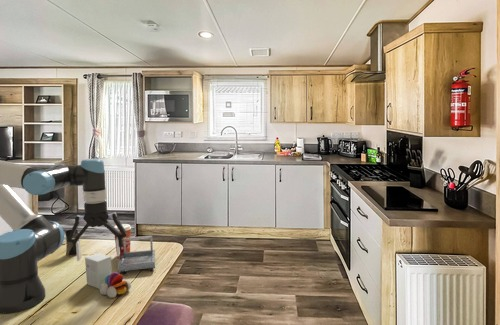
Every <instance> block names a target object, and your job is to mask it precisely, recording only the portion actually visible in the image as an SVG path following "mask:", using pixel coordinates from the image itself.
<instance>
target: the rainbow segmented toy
mask: <svg viewBox="0 0 500 325" xmlns="http://www.w3.org/2000/svg"><path fill="white" fill-rule="evenodd" d="M123 275H124V274H120V273H118V272H116V271H115V272H112V273H111V274H110V275H107V276H106V278H105V283H103V284H102V285H101V286H100V289H99V292H100V294H101V295H104V296H107V297H109V298H110V299H111V298H112V299H114V298H116V297H117V295H123V294H125V293H126V292H129V291H130V289H131V288H132V284H131V281H130V280H126V279H125V280H123V279H124V276H123Z"/></svg>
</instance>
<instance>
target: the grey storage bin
mask: <svg viewBox="0 0 500 325" xmlns="http://www.w3.org/2000/svg"><path fill="white" fill-rule="evenodd" d="M149 239H150V240H149ZM128 240H130V241H139V240H149V241H150V249H149V250H137V251H136V250H134V251H130V252H126V241H128ZM123 243H124V253H121V257H120V258H119V261H118V264H117V271H118V272H119V275H120V274H121V275H125V274H126V271H135V270H145V269H146V270H147V269H148V271H149V272H152V271H154V269H155V268H156V250H155V249H154V248H153V247H154V246H153V235H145V236H144V235H143V236H134V237H130V238H123Z"/></svg>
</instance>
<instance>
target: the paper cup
mask: <svg viewBox="0 0 500 325" xmlns="http://www.w3.org/2000/svg"><path fill="white" fill-rule="evenodd" d="M121 224H122V226H123V227H124V229H125V231H126V232H127V235H126V237H123V238H130V237H131V231H132V230H131V229H132V226H131V225H130V223H129V224H128V223H121ZM113 227H114V228H115V229H116V230H117V231H119V232H120V230H119V229H118V227H117V226H116V225H115V226H113ZM120 233H121V232H120ZM121 234H122V233H121ZM123 238H122V247H120V255H119V256H118V257H117V258H118V259H120V257H121V253H124V243H123ZM116 239H117V237H116V236H115V235H114V242H115V244H116ZM115 250H116V251H115V252H116V253H117V247H116V246H115ZM126 252H131V240H128V241H126Z"/></svg>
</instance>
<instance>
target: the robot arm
mask: <svg viewBox="0 0 500 325" xmlns="http://www.w3.org/2000/svg"><path fill="white" fill-rule="evenodd" d="M105 174H106V170H105V164H104V161H103V159H101V158H92V159H91V158H87V159H83V160H81V161H80V164H77V165H76V164H75V165H74V164H73V165H71V164H70V165H68V164H67V165H65V164H64V165H63V164H58V165H51V166H49V167H48V168H46V169H45V168H40V167H34V166H30V165H25V164H19V163H15V162H10V161H5V160H0V217H1V219H2V220H4V223H6V224H7V225H8V226H9V227H10V228H11V230H12V231H7V232H5V233H3V234H0V314H12V313H17V312H21V311H24V310H28V309H31V308H32V307H34V306H37V305H38V304H40V303H41V302H43V300H45V298H46V289H45V286H44V284H43V283H42V280H41V278H40V276H39V270H38V263H39V262H40V261H41V260H43V259H45V258H46V257H48V256H49V255H52V254H53V253H55V252H56V251H57V250H58V249H59V248H60V247H61V246H63V245H62V244H64V240H65V231H64V228H63V227H62V226H61V225H60V223H59V222H57V221H52V220H47V218H45V216H44V215H43V214H36V213H34V211H33V210H32V209H31V208H30V206H29V205H28V204H26V202H25V201H24V200H22V198H21V197H20V196H19V195H18V194H17V192H15V191H14V190H13V188H17V189H23V190H25V192H27V193H29V195H32V196H40V195H46V194H48V193H50V192H53V191H56V190H60V189H63V188H66V187H77V186H78V187H79V186H80V187H81V186H82V192H83V193H82V195H83V202H84V203H83V204H84V205H83V208H84V215H80V214H77V215H76V216H75V217H74V223H73V226H72V229H70V230H71V232H70V234H69V237H68V239H67V242H72V243H73V251H74V252H75V251H77V255H76V261H77V262H80V260H81V259H82V251H81V240H80V238H81V237H82V236H83V234H84V233H85V232H86V231H87V230H88V228H89V227H91V228H96V227H102V226H103V227H104V228H106V229H107V230H109V231H110V232H111V233H112V234H113V235H114V237H115V236H116V237H117V239H116V243H115V248H116V247H117V252H116V258H118V256H119V255H120V247H122V238H123V237H126V235H127V232H126V231H125V229H124V227H123V226H122V224H123V223H121V221H120V220H119V218H118V214H117V212H116V211H114V212H111V213H109V212H108V206H107V204H108V203H107V201H106V200H107V191H106V190H107V189H106V175H105ZM109 218H110V219H111V220H112V221H113V222H114V224H115V226H117V227H118V229H119V230H120V232H121V233H122V234H121V233H120V232H119V231H117V230H116V229H115V228H114V226H113V225H112V224H111V223H110V222H109V220H108V219H109ZM83 220H84V221H85V222H86V224H85V225H84V226H83V227H82V229H81V230H80V231H78V235H77V236H76V237H75V238H73V236H74V233H75V231H76V230H78V227H79V224H80V222H82V221H83ZM78 239H79V241H77V240H78Z"/></svg>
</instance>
